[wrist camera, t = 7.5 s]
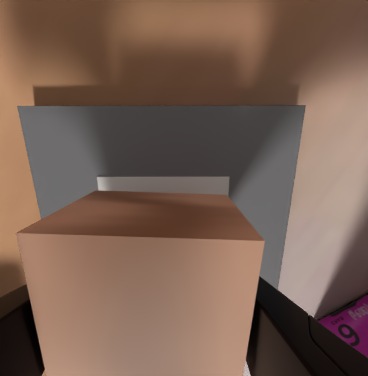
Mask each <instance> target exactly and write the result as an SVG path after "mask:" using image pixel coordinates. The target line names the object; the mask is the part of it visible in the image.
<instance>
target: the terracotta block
mask: <svg viewBox="0 0 368 376" xmlns="http://www.w3.org/2000/svg"><path fill="white" fill-rule="evenodd" d="M16 236H17V241H18V245H19V250H20V255H21V259H22V264H23V269H24V273H25V278H26V283H27V288H28V292H29V297H30V302H31V306H32V311H33V316H34V320H35V325H36V330H37V334H38V339H39V344H40V348H41V353H42V358H43V363H44V367H45V372H46V376H243V373H244V367H245V361H246V354H247V348H248V342H249V336H250V330H251V323H252V317H253V311H254V305H255V299H256V292H257V286H258V280H259V274H260V268H261V262H262V255H263V249H264V243H265V241H264V239H263V238H262V237H261V236H260V235H259V233H258V232H257V231H256V230H255V228H254V227H253V226H252V225H251V224H250V222H249V221H248V220H247V219H246V218H245V216H244V215H243V214H242V213H241V211H240V210H239V209H238V208H237V207H236V205H235V204H234V203H233V202H232V200H231V199H230V198H229V197H228V196H227V195H219V194H190V193H160V192H130V191H101V190H95V191H93V192H92V193H90V194H88V195H86V196H84V197H82V198H80V199H78V200H77V201H75V202H73V203H71V204H69V205H67V206H65V207H64V208H62V209H60V210H58V211H56V212H54V213H52V214H51V215H49V216H47V217H45V218H43V219H41V220H39V221H38V222H36V223H34V224H32V225H30V226H28V227H26V228H24V229H23V230H21V231H19V232H17V233H16Z"/></svg>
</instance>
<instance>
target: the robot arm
mask: <svg viewBox="0 0 368 376" xmlns="http://www.w3.org/2000/svg"><path fill="white" fill-rule="evenodd" d="M246 362H247V365H248V368H249V371H250V375H251V376H368V357H366V356H365V355H363V354H362V353H361V352H359V351H358V350H356V349H355V348H354V347H352V346H351V345H349V344H348V343H346V342H345V341H344V340H342V339H341V338H340V337H338V336H337V335H336V334H334V333H333V332H332V331H330V330H329V329H328V328H326V327H325V326H324V325H322V324H321V323H320V322H318V321H317V320H316V319H315V318H313V317H312V316H311V315H309V316H308V313H307V312H305V311H304V310H303V309H302V308H300V307H299V306H298V305H296V304H295V303H294V302H293V301H291V300H290V299H289V298H287V297H286V296H285V295H284V294H282V293H281V292H280V291H278V290H277V289H276V288H275V287H273V286H272V285H271V284H269V283H268V282H267V281H266V280H264V279H263V278H262V277H260V276H259V280H258V286H257V292H256V299H255V305H254V311H253V317H252V323H251V330H250V336H249V342H248V348H247V354H246ZM44 370H45V367H44V363H43V358H42V353H41V348H40V344H39V339H38V334H37V330H36V325H35V320H34V316H33V311H32V306H31V302H30V297H29V292H28V288H27V284H26V285H24V286H22V287H20V288H18V289H16V290H14V291H12V292H10V293H8V294H6V295H4V296H2V297H0V376H42V374H43V372H44Z"/></svg>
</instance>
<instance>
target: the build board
mask: <svg viewBox="0 0 368 376" xmlns="http://www.w3.org/2000/svg"><path fill="white" fill-rule="evenodd" d="M305 106H306V105H264V106H17V107H18V112H19V117H20V121H21V126H22V131H23V135H24V140H25V145H26V150H27V154H28V159H29V164H30V168H31V173H32V178H33V182H34V187H35V192H36V197H37V201H38V206H39V211H40V215H41V219H43V218H45V217H47V216H49V215H51V214H52V213H54V212H56V211H58V210H60V209H62V208H64V207H65V206H67V205H69V204H71V203H73V202H75V201H77V200H78V199H80V198H82V197H84V196H86V195H88V194H90V193H92V192H93V191H95V190H101V191H130V192H160V193H190V194H219V195H227V196H228V197H229V198H230V199H231V200H232V202H233V203H234V204H235V205H236V207H237V208H238V209H239V210H240V211H241V213H242V214H243V215H244V216H245V218H246V219H247V220H248V221H249V222H250V224H251V225H252V226H253V227H254V228H255V230H256V231H257V232H258V233H259V235H260V236H261V237H262V238H263V239H264V241H265V243H264V249H263V255H262V262H261V268H260V274H259V276H260V277H262V278H263V279H264V280H266V281H267V282H268V283H269V284H271V285H272V286H273V287H275V288H276V289H277V290H278V284H279V277H280V271H281V264H282V257H283V251H284V244H285V238H286V231H287V225H288V218H289V211H290V205H291V198H292V192H293V185H294V179H295V172H296V165H297V159H298V152H299V146H300V139H301V133H302V126H303V120H304V113H305Z"/></svg>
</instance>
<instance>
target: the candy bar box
mask: <svg viewBox="0 0 368 376" xmlns="http://www.w3.org/2000/svg"><path fill="white" fill-rule="evenodd" d="M318 322H320V323H321V324H322V325H324V326H325V327H326V328H328V329H329V330H330V331H332V332H333V333H334V334H336V335H337V336H338V337H340V338H341V339H342V340H344V341H345V342H346V343H348V344H349V345H351V346H352V347H354V348H355V349H356V350H358V351H359V352H361V353H362V354H363V355H365V356H366V357H368V295H366V296H364V297H362V298H360V299H358V300H356V301H354V302H352V303H351V304H349V305H347V306H345V307H343V308H341V309H339V310H337V311H335V312H334V313H332V314H330V315H328V316H326V317H324V318H322V319H320V320H319V321H318Z"/></svg>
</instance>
